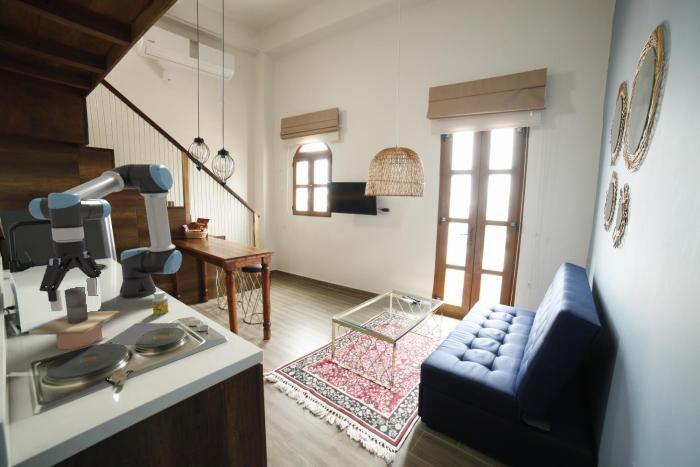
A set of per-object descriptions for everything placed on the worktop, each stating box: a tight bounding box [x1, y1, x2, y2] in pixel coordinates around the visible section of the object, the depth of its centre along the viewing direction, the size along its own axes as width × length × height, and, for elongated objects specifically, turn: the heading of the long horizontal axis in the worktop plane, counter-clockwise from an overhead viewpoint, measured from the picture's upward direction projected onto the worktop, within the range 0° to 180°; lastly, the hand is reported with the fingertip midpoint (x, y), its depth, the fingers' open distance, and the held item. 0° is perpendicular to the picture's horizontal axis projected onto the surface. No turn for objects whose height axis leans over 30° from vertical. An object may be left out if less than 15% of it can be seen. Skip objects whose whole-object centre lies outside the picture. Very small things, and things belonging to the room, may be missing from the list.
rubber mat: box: [104, 322, 181, 346], centre depth 107 cm, size 17×17×1 cm
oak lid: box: [29, 287, 121, 336], centre depth 100 cm, size 16×16×12 cm
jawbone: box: [106, 365, 134, 388], centre depth 88 cm, size 9×20×2 cm, turn 169°
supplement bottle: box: [152, 290, 169, 316], centre depth 125 cm, size 5×5×10 cm
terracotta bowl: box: [55, 324, 103, 350], centre depth 101 cm, size 11×11×7 cm
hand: (76, 302), depth 99 cm, fingers open, 13 cm apart
